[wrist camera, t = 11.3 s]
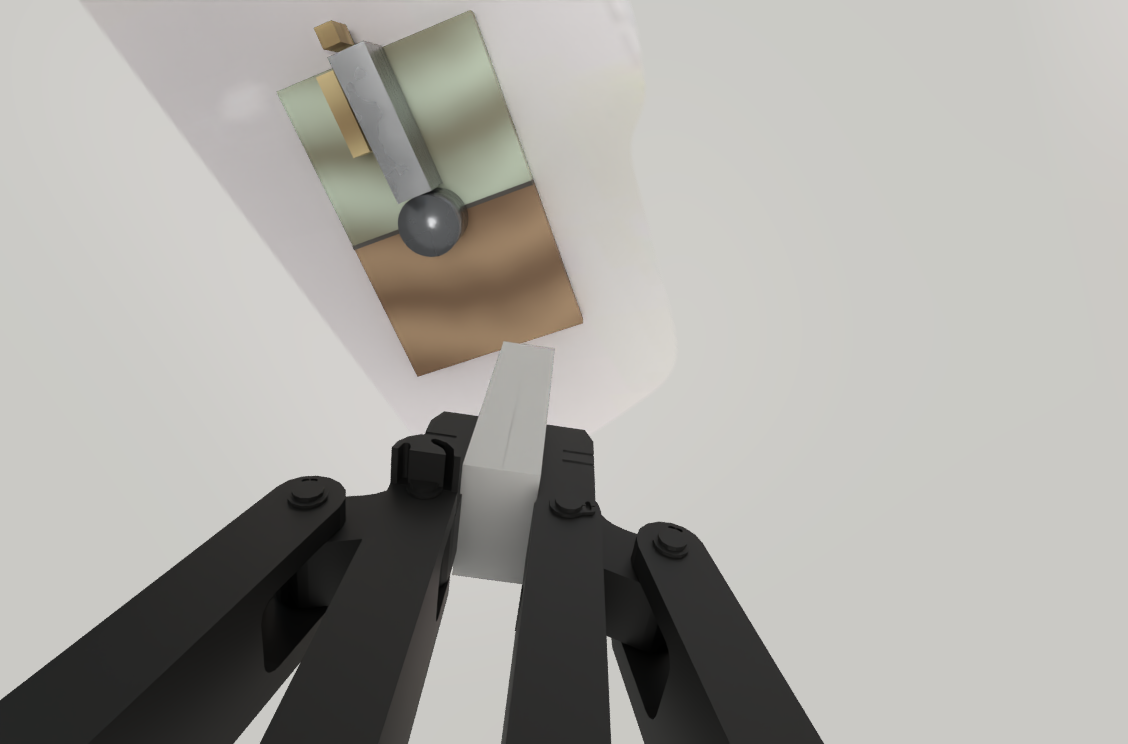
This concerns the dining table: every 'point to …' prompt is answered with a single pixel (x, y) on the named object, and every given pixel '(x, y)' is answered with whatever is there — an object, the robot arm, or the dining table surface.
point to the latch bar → (400, 150)
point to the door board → (468, 168)
